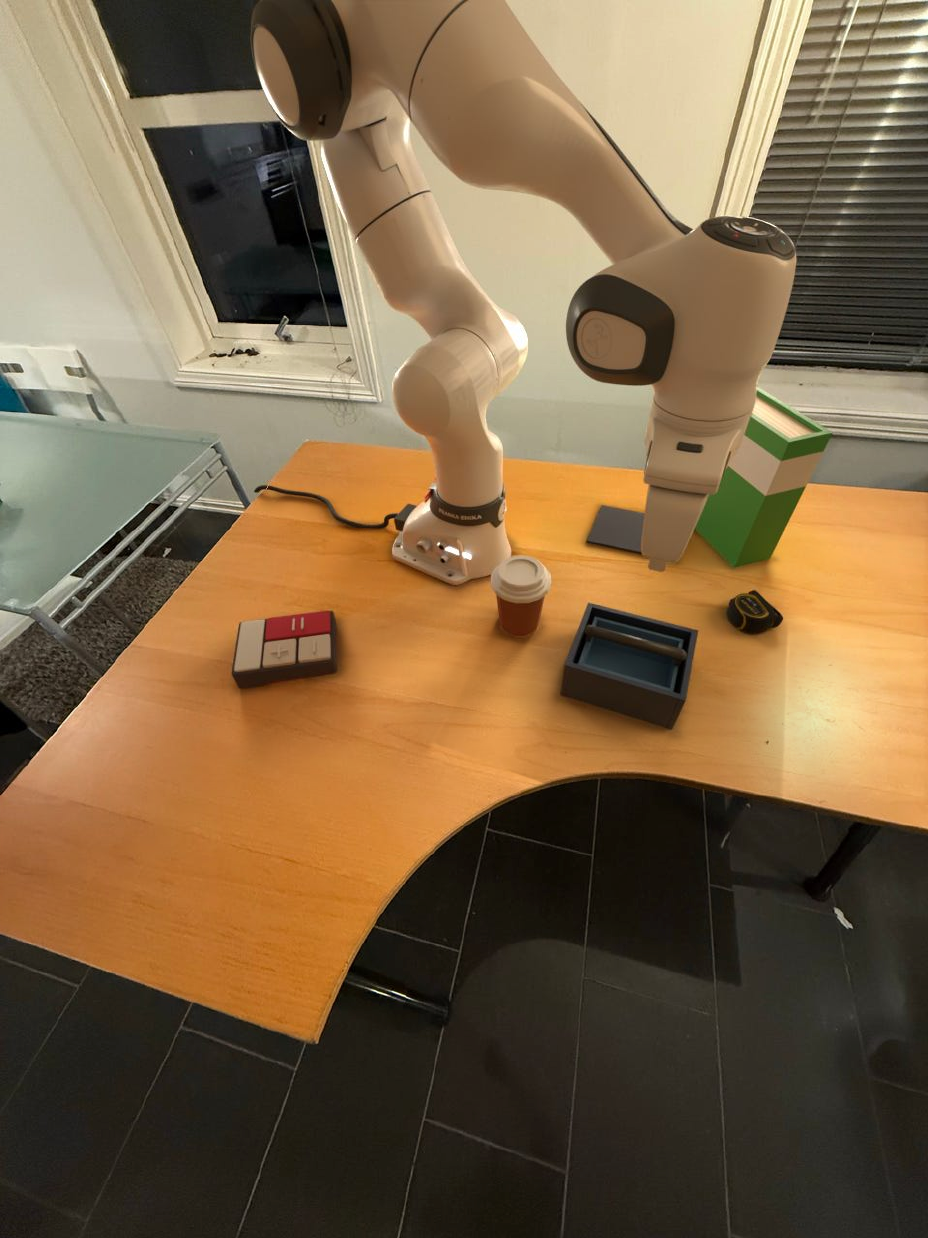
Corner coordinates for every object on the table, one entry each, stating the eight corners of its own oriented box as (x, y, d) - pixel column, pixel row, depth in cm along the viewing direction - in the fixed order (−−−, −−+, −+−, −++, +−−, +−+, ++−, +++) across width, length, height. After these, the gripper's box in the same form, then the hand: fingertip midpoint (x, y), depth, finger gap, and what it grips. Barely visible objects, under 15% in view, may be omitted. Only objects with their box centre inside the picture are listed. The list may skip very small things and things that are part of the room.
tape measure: (779, 631, 82) (789, 615, 79) (741, 642, 81) (750, 626, 78) (750, 602, 87) (758, 585, 84) (714, 612, 85) (721, 596, 83)
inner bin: (569, 688, 76) (576, 650, 70) (586, 641, 82) (593, 602, 75) (666, 718, 72) (682, 680, 65) (677, 666, 78) (692, 627, 71)
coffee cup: (497, 649, 82) (497, 595, 74) (486, 608, 89) (484, 554, 80) (553, 640, 83) (560, 586, 74) (538, 600, 89) (543, 545, 80)
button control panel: (333, 658, 78) (229, 672, 76) (338, 675, 81) (238, 689, 80) (332, 606, 86) (237, 618, 84) (337, 624, 89) (245, 636, 87)
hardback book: (678, 511, 104) (714, 391, 86) (711, 504, 105) (753, 383, 87) (733, 568, 92) (788, 442, 74) (770, 558, 93) (832, 432, 76)
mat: (586, 542, 99) (586, 540, 98) (601, 507, 106) (601, 504, 106) (674, 562, 94) (675, 559, 94) (683, 523, 101) (684, 520, 101)
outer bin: (559, 697, 76) (564, 665, 70) (582, 635, 84) (588, 602, 78) (671, 732, 71) (685, 700, 66) (684, 663, 79) (698, 630, 73)
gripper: (676, 380, 58) (651, 488, 68) (641, 477, 46) (617, 591, 56) (737, 387, 56) (703, 497, 66) (719, 490, 44) (679, 606, 54)
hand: (663, 541), depth 61 cm, fingers open, 8 cm apart
